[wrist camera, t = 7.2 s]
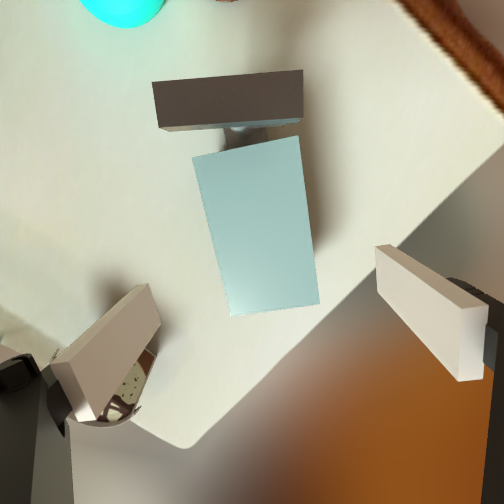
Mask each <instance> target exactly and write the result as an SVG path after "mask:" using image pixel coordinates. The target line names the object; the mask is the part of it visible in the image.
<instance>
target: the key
mask: <svg viewBox="0 0 504 504" xmlns="http://www.w3.org/2000/svg"><path fill="white" fill-rule="evenodd" d="M152 87H153V93H154V100H155V106H156V113H157V120H158V126H159V128H161V129H164V130H166V131H169V132H173V131H187V130H202V129H216V128H231V129H232V131H233V132H234V133H235V134H236V135H237V136H238V137H239V138H241V139H247V138H249V137H250V136H251V135H252V133H253V128H266V127H280V126H284V125H285V124H288V123H299V122H300V121H301V120H302V118H303V70H293V71H281V72H268V73H256V74H244V75H232V76H220V77H207V78H195V79H183V80H171V81H158V82H152Z"/></svg>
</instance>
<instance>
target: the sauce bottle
mask: <svg viewBox="0 0 504 504" xmlns="http://www.w3.org/2000/svg"><path fill="white" fill-rule="evenodd" d="M216 1H221V2H233V1H237V0H216Z"/></svg>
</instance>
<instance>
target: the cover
mask: <svg viewBox="0 0 504 504" xmlns="http://www.w3.org/2000/svg"><path fill="white" fill-rule="evenodd" d="M192 160H193V164H194V168H195V172H196V176H197V180H198V184H199V189H200V193H201V197H202V201H203V205H204V209H205V213H206V217H207V221H208V225H209V229H210V233H211V237H212V241H213V245H214V249H215V253H216V257H217V261H218V265H219V269H220V273H221V277H222V282H223V286H224V290H225V294H226V298H227V302H228V306H229V310H230V314H231V317H233V316H240V315H247V314H254V313H260V312H267V311H274V310H281V309H288V308H295V307H302V306H309V305H315V304H320V300H319V292H318V284H317V276H316V268H315V261H314V253H313V245H312V237H311V230H310V222H309V214H308V206H307V199H306V191H305V183H304V175H303V168H302V160H301V152H300V144H299V137H298V135H297V136H292V137H287V138H282V139H278V140H273V141H268V142H264V143H259V144H254V145H249V146H245V147H240V148H235V149H231V150H226V151H221V152H217V153H212V154H207V155H202V156H198V157H193V158H192Z"/></svg>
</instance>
